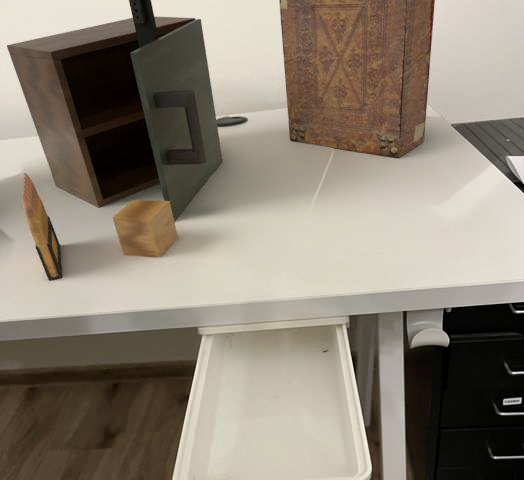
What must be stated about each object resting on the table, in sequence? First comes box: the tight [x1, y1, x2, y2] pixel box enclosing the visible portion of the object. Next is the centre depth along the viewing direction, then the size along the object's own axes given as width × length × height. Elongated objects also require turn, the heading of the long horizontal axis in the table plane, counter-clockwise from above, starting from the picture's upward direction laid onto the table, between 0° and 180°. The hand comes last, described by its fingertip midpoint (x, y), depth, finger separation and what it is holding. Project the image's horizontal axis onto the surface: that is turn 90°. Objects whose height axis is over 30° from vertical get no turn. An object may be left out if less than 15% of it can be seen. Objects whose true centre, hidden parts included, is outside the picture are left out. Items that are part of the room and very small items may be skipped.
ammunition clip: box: [21, 173, 63, 281], centre depth 77 cm, size 11×2×12 cm, turn 18°
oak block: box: [112, 199, 179, 259], centre depth 79 cm, size 6×6×6 cm
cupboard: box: [6, 16, 196, 209], centre depth 100 cm, size 18×26×24 cm
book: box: [278, 0, 436, 159], centre depth 99 cm, size 25×9×30 cm, turn 49°
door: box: [130, 18, 224, 222], centre depth 89 cm, size 7×26×24 cm, turn 166°
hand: (150, 47), depth 82 cm, fingers closed
